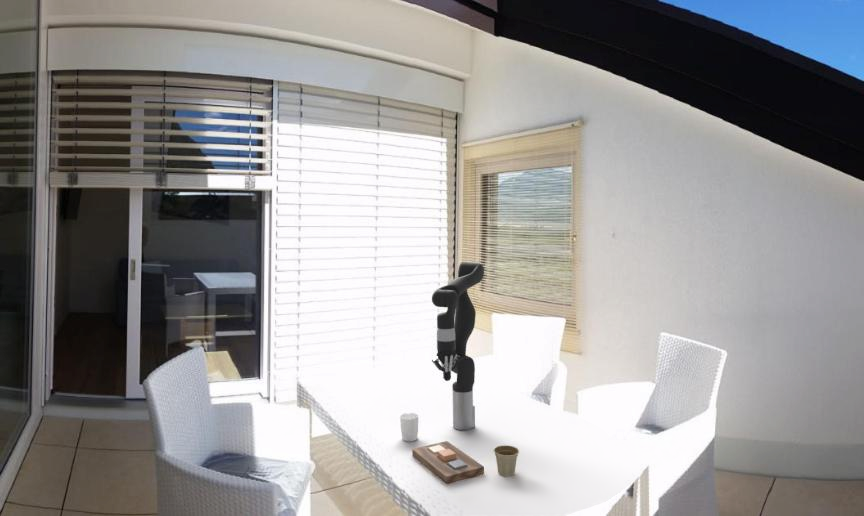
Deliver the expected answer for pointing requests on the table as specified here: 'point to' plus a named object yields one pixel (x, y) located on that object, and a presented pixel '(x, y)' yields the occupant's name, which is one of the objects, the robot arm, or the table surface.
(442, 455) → the terracotta pad
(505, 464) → the flower pot
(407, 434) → the white cup
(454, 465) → the grey pad
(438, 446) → the cream pad
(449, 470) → the button board
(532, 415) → the table surface
